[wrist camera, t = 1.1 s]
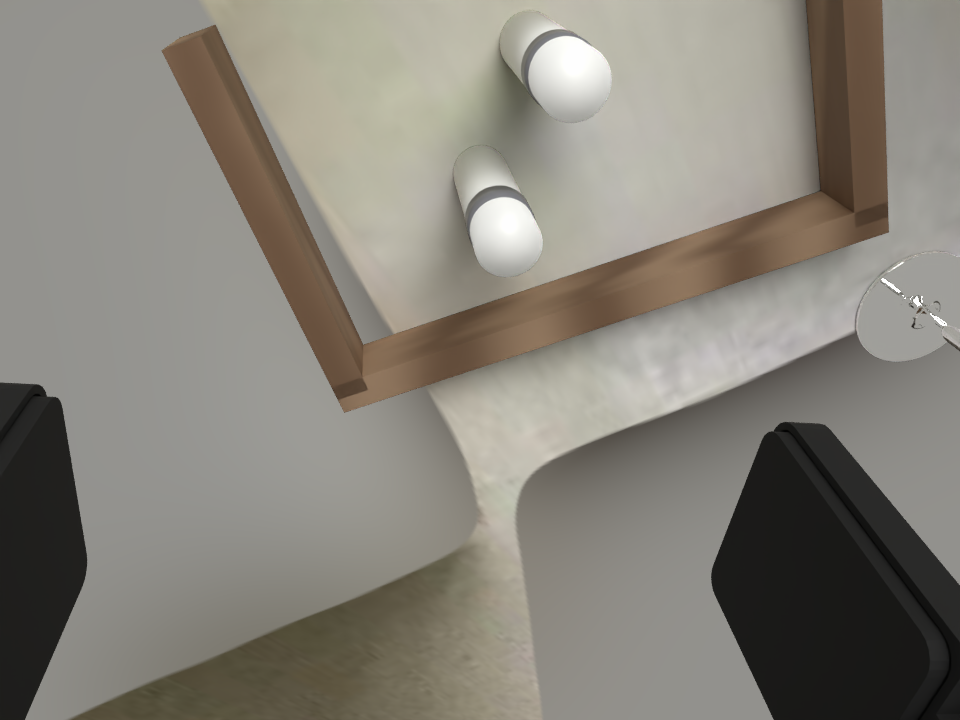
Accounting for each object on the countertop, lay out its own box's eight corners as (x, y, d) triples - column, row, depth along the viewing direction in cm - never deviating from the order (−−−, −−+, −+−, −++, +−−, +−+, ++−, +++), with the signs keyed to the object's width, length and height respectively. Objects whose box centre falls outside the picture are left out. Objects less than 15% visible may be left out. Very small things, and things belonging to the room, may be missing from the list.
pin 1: (499, 136, 34) (533, 201, 26) (514, 189, 35) (552, 265, 28) (444, 155, 34) (463, 225, 26) (462, 207, 35) (485, 287, 28)
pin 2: (549, -1, 31) (603, 30, 24) (565, 62, 32) (620, 109, 25) (490, 21, 31) (526, 57, 24) (508, 82, 32) (546, 135, 25)
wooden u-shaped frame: (831, -201, 29) (876, -211, 26) (853, 209, 37) (888, 232, 35) (179, 37, 30) (161, 50, 28) (346, 378, 39) (344, 412, 36)
